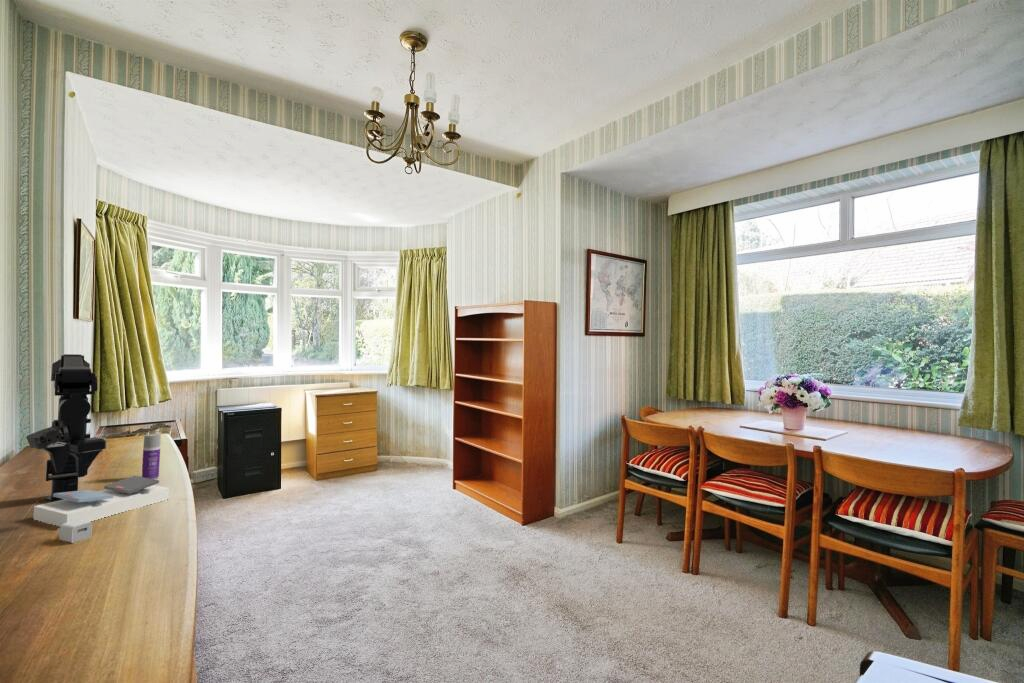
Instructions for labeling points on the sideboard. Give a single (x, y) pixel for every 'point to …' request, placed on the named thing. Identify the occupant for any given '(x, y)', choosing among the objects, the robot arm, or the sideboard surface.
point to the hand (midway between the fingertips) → (69, 474)
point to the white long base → (98, 506)
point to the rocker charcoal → (131, 484)
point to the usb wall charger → (75, 531)
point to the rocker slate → (83, 496)
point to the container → (151, 456)
